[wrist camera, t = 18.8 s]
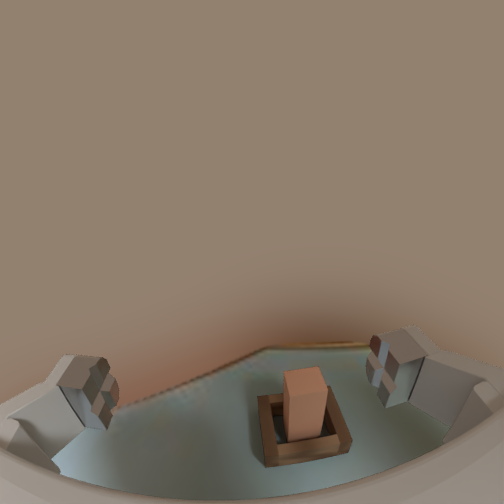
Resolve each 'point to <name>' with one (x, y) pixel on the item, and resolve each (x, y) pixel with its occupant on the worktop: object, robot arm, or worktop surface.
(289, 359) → the worktop surface
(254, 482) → the worktop surface
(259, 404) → the walnut well
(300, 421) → the salmon orange rectangular block
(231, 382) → the worktop surface
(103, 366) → the robot arm
